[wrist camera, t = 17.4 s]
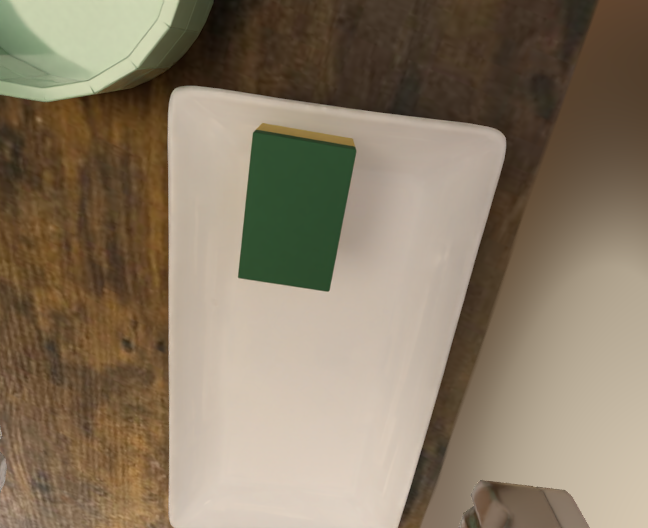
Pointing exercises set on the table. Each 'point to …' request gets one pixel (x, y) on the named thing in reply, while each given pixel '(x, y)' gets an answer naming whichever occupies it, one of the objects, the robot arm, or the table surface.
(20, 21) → the bowl
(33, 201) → the table surface
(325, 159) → the sponge
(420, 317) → the tray
